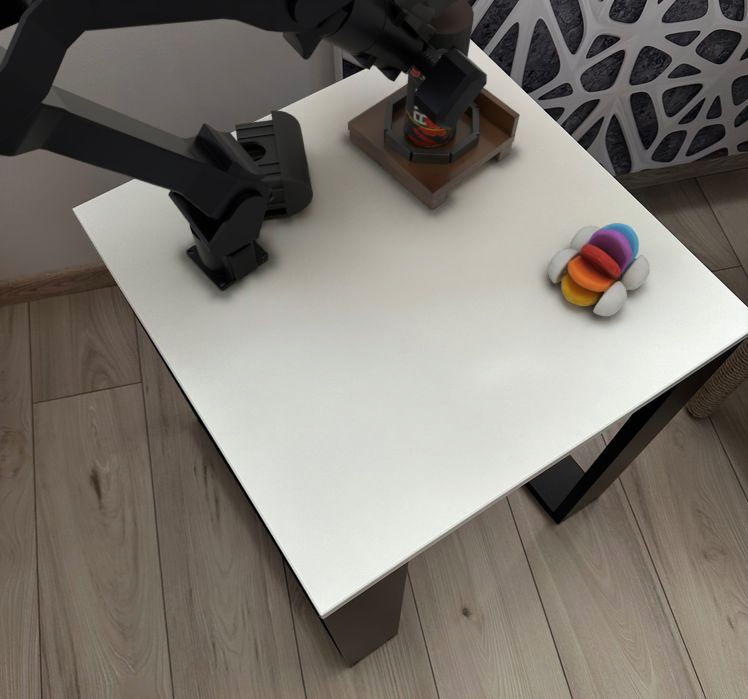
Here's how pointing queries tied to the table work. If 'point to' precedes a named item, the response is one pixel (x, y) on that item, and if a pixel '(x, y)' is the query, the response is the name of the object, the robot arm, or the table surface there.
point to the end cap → (279, 162)
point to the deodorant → (449, 32)
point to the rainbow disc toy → (600, 267)
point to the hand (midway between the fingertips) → (446, 70)
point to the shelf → (440, 164)
